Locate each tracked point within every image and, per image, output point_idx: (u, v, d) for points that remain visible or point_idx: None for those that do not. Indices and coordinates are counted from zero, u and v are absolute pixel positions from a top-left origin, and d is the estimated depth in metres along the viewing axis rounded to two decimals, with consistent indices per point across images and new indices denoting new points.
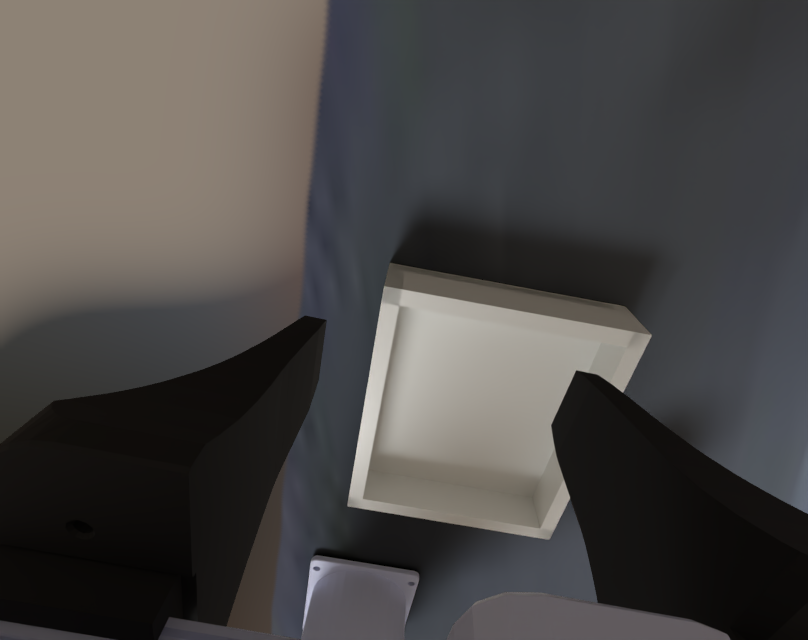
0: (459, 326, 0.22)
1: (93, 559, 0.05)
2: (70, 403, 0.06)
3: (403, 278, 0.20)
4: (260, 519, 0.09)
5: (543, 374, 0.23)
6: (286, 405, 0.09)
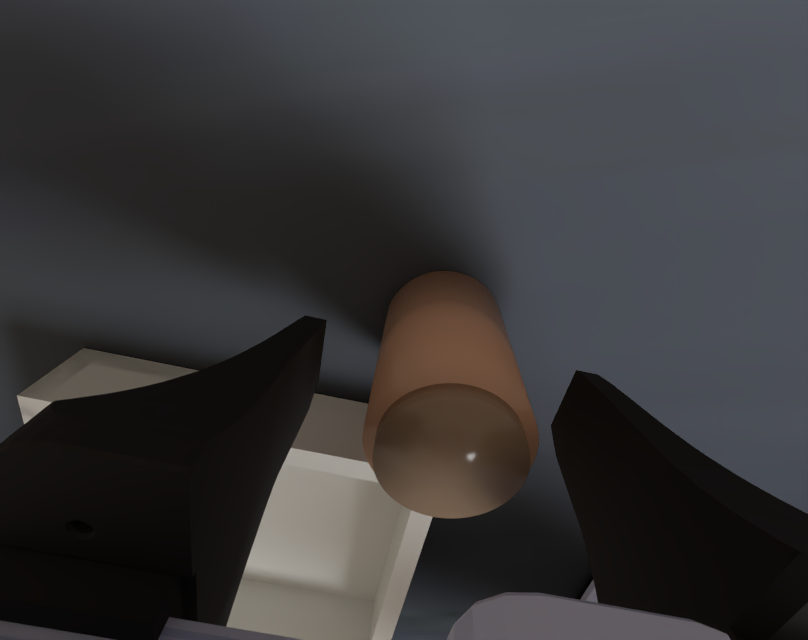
0: None
1: (93, 559, 0.05)
2: (70, 403, 0.06)
3: None
4: (260, 519, 0.09)
5: None
6: (286, 405, 0.09)
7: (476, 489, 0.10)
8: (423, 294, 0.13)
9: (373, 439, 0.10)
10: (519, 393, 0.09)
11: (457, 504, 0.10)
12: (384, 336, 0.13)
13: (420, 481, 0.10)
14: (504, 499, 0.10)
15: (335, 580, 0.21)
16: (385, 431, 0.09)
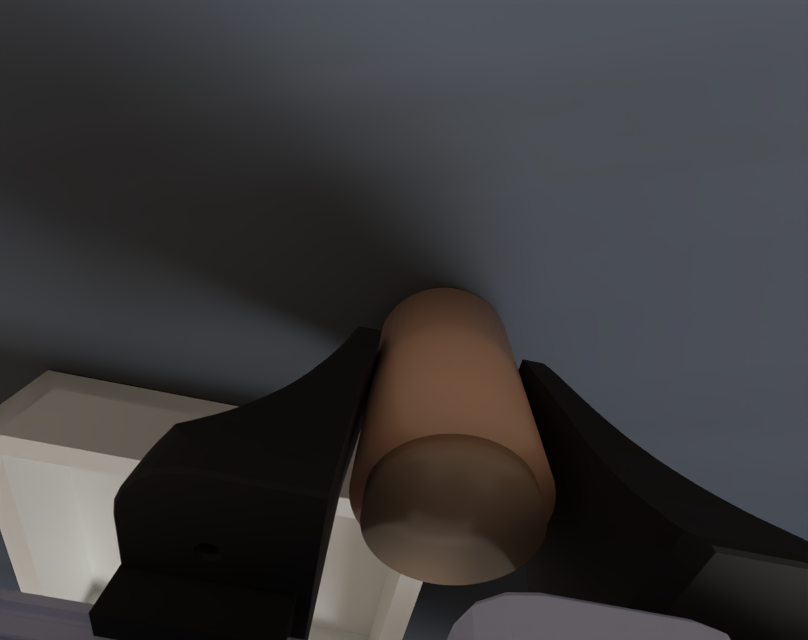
0: None
1: (215, 580, 0.06)
2: (191, 425, 0.06)
3: None
4: None
5: None
6: (355, 418, 0.10)
7: (481, 555, 0.08)
8: (420, 316, 0.12)
9: (361, 494, 0.09)
10: (533, 444, 0.08)
11: (460, 570, 0.09)
12: (376, 364, 0.11)
13: (416, 545, 0.08)
14: (516, 565, 0.08)
15: (327, 613, 0.19)
16: (374, 491, 0.08)
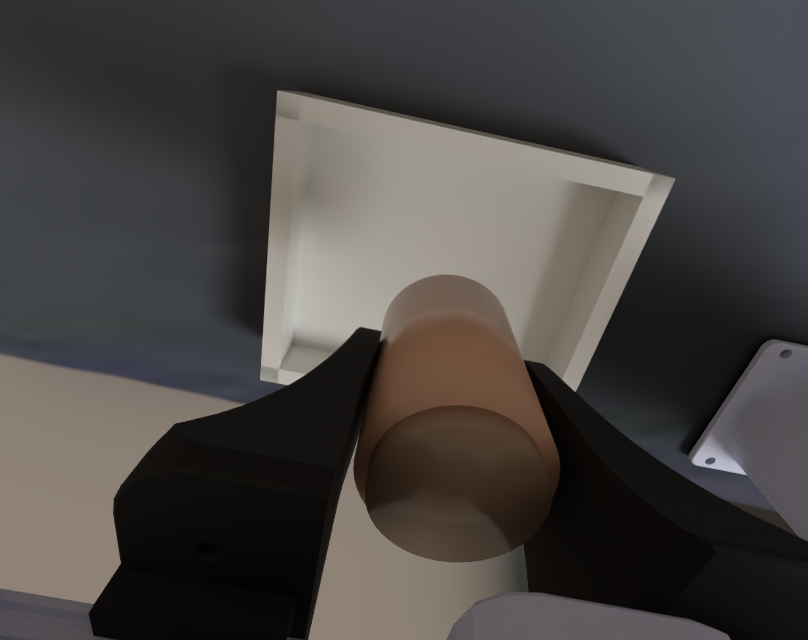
0: (331, 291, 0.20)
1: (215, 580, 0.06)
2: (191, 425, 0.06)
3: None
4: None
5: (391, 193, 0.18)
6: (355, 418, 0.10)
7: (482, 531, 0.08)
8: (431, 298, 0.12)
9: (367, 463, 0.09)
10: (544, 423, 0.08)
11: (458, 546, 0.09)
12: (383, 341, 0.11)
13: (418, 517, 0.08)
14: (514, 544, 0.08)
15: None
16: (385, 457, 0.08)
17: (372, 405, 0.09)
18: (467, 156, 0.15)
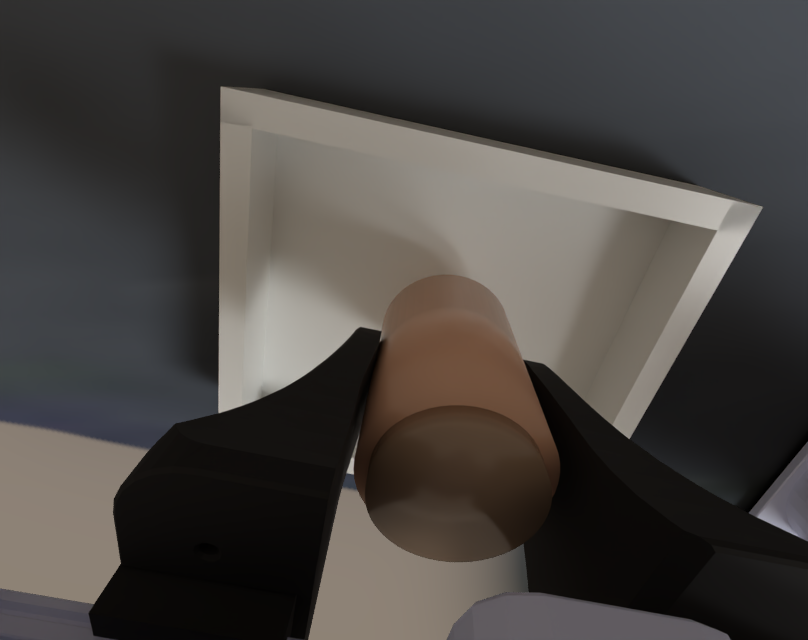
0: (307, 339, 0.16)
1: (215, 580, 0.06)
2: (191, 425, 0.06)
3: None
4: None
5: (381, 220, 0.14)
6: (355, 418, 0.10)
7: (482, 531, 0.08)
8: (431, 298, 0.12)
9: (366, 463, 0.09)
10: (544, 423, 0.08)
11: (458, 546, 0.09)
12: (383, 341, 0.11)
13: (418, 517, 0.08)
14: (514, 544, 0.08)
15: None
16: (385, 457, 0.08)
17: (372, 405, 0.09)
18: (481, 176, 0.11)
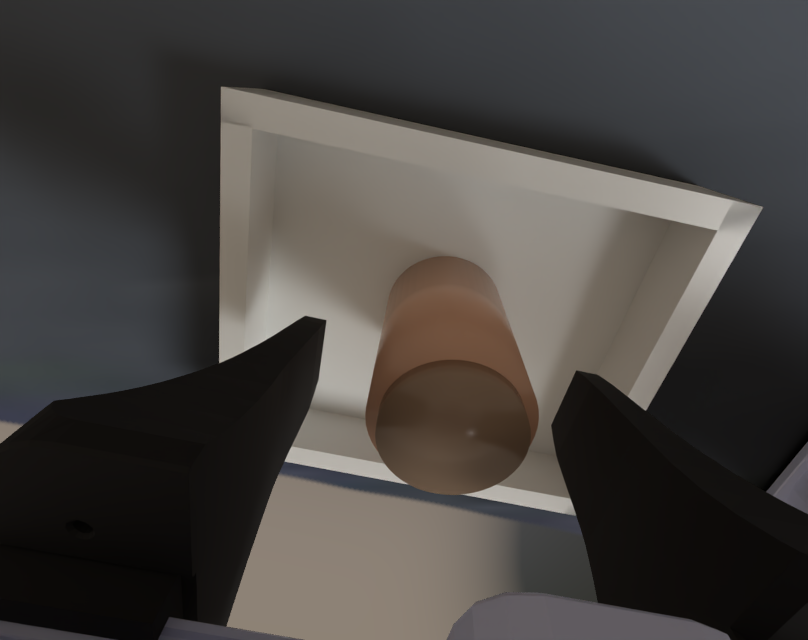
0: None
1: (93, 559, 0.05)
2: (70, 403, 0.06)
3: None
4: (260, 519, 0.09)
5: (381, 220, 0.14)
6: (286, 405, 0.09)
7: (473, 467, 0.10)
8: (431, 276, 0.13)
9: (376, 410, 0.10)
10: (525, 376, 0.10)
11: (453, 480, 0.10)
12: (389, 314, 0.13)
13: (420, 455, 0.10)
14: (500, 478, 0.10)
15: None
16: (392, 402, 0.09)
17: (380, 363, 0.10)
18: (481, 176, 0.11)
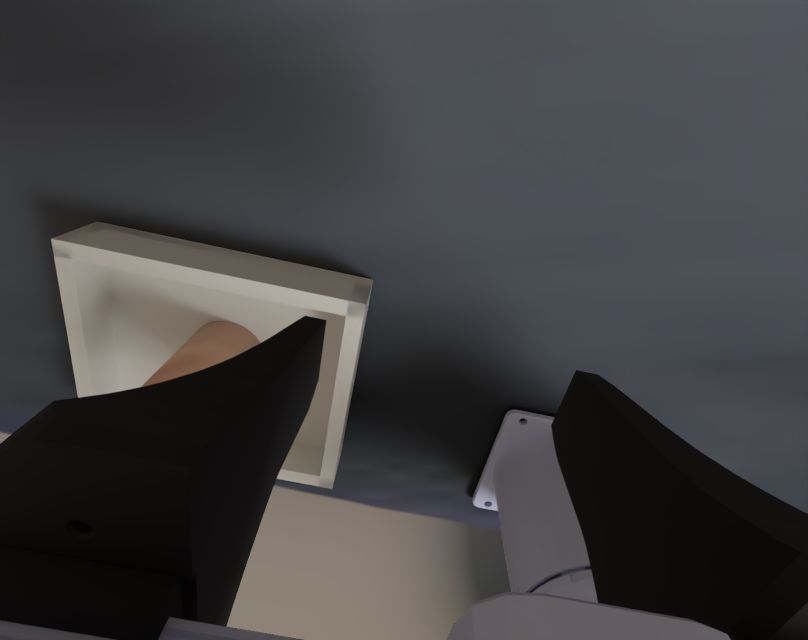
0: (146, 370, 0.25)
1: (93, 559, 0.05)
2: (70, 403, 0.06)
3: None
4: (260, 519, 0.09)
5: (177, 299, 0.23)
6: (286, 405, 0.09)
7: None
8: (197, 337, 0.22)
9: None
10: None
11: None
12: None
13: None
14: None
15: None
16: None
17: None
18: (205, 286, 0.20)
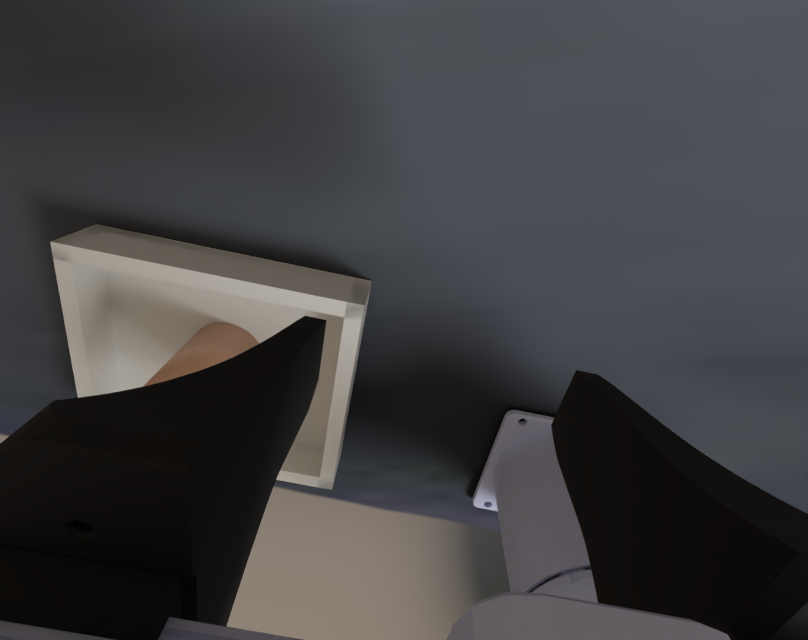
0: (146, 372, 0.25)
1: (93, 559, 0.05)
2: (70, 403, 0.06)
3: None
4: (260, 519, 0.09)
5: (176, 301, 0.23)
6: (286, 405, 0.09)
7: None
8: (197, 339, 0.22)
9: None
10: None
11: None
12: None
13: None
14: None
15: None
16: None
17: None
18: (204, 288, 0.20)
